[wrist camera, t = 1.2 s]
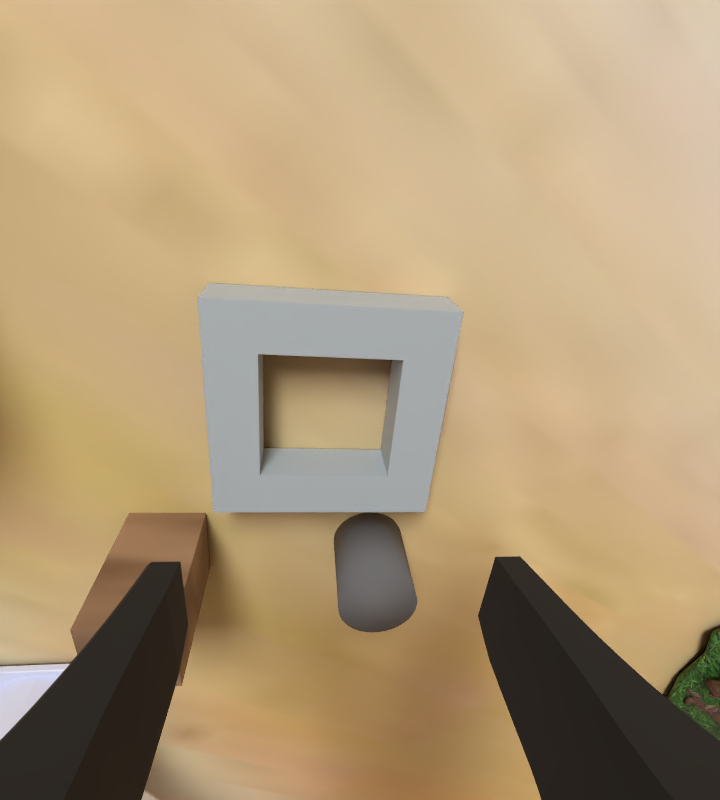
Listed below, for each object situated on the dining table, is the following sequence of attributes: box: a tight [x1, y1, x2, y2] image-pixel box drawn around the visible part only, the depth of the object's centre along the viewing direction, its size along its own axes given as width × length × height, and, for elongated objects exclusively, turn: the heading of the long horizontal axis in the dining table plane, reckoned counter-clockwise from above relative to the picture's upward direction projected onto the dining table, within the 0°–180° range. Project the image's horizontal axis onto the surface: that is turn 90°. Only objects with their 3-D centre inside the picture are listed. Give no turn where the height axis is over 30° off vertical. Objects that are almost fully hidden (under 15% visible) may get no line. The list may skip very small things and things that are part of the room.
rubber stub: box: [334, 513, 417, 632], centre depth 22 cm, size 3×3×4 cm
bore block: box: [198, 283, 463, 512], centre depth 19 cm, size 9×9×2 cm
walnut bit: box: [70, 513, 210, 686], centre depth 20 cm, size 3×3×6 cm
